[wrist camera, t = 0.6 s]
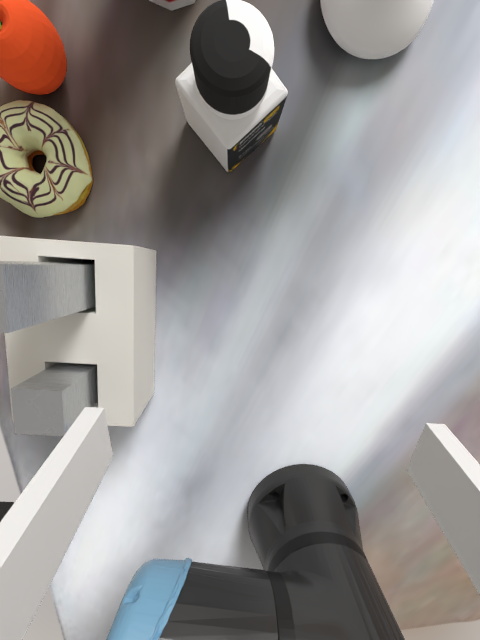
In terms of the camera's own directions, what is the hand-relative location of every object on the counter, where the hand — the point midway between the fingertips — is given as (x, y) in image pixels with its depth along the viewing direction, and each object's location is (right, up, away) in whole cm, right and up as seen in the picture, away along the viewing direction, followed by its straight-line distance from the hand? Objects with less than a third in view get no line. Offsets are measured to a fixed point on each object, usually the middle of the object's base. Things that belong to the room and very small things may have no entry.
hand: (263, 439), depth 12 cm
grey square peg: (-18, 0, +24) cm, 30 cm away
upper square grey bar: (-17, +10, +22) cm, 30 cm away
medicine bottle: (-2, +27, +20) cm, 33 cm away
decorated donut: (-22, +22, +20) cm, 37 cm away
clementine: (-22, +31, +18) cm, 42 cm away
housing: (-17, +5, +23) cm, 29 cm away
